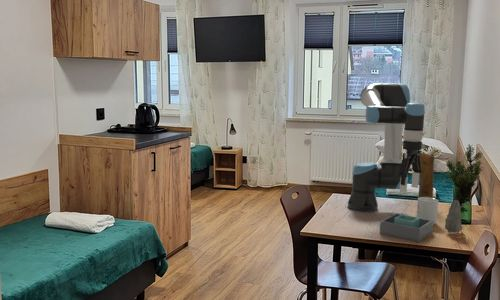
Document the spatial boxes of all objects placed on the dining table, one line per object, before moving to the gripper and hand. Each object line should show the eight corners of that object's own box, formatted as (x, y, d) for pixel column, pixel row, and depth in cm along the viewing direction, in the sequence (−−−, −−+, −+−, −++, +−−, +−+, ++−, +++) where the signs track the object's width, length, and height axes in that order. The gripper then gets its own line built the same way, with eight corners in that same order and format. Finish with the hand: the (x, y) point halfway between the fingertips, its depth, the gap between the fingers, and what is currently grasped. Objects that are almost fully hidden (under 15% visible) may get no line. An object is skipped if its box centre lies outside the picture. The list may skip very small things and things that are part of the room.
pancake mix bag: (423, 210, 244) (428, 156, 240) (411, 201, 263) (415, 150, 259) (436, 210, 244) (441, 156, 240) (423, 201, 263) (427, 151, 259)
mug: (439, 225, 217) (441, 201, 215) (420, 225, 217) (422, 201, 215) (429, 218, 229) (431, 195, 227) (411, 217, 229) (412, 195, 227)
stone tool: (459, 231, 209) (462, 198, 207) (463, 233, 206) (466, 200, 204) (441, 231, 208) (444, 198, 206) (445, 234, 205) (448, 200, 202)
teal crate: (393, 231, 203) (394, 217, 203) (400, 227, 210) (401, 214, 209) (412, 235, 199) (413, 221, 198) (418, 231, 205) (419, 217, 204)
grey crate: (379, 233, 203) (380, 221, 202) (394, 225, 216) (395, 213, 215) (418, 242, 193) (419, 229, 192) (432, 233, 206) (433, 220, 205)
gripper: (410, 143, 187) (406, 196, 190) (431, 138, 206) (427, 186, 209) (392, 141, 192) (388, 193, 195) (414, 137, 211) (410, 184, 214)
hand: (409, 190), depth 202 cm, fingers open, 13 cm apart
